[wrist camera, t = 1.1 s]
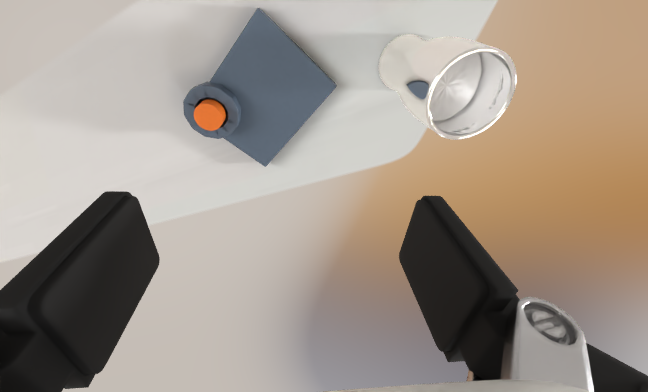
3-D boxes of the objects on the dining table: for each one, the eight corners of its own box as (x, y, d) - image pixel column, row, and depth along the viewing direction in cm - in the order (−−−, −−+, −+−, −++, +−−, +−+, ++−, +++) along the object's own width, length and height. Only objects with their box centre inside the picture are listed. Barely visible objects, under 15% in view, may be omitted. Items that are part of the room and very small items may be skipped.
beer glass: (365, 85, 33) (407, 130, 20) (389, 20, 29) (456, 27, 17) (415, 100, 34) (481, 150, 22) (443, 40, 31) (541, 60, 18)
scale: (251, 0, 27) (247, -1, 25) (335, 83, 32) (338, 89, 30) (183, 107, 32) (173, 116, 30) (264, 164, 38) (262, 175, 35)
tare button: (207, 93, 29) (202, 97, 28) (231, 111, 31) (227, 116, 29) (193, 113, 30) (188, 118, 29) (217, 130, 32) (213, 136, 30)
